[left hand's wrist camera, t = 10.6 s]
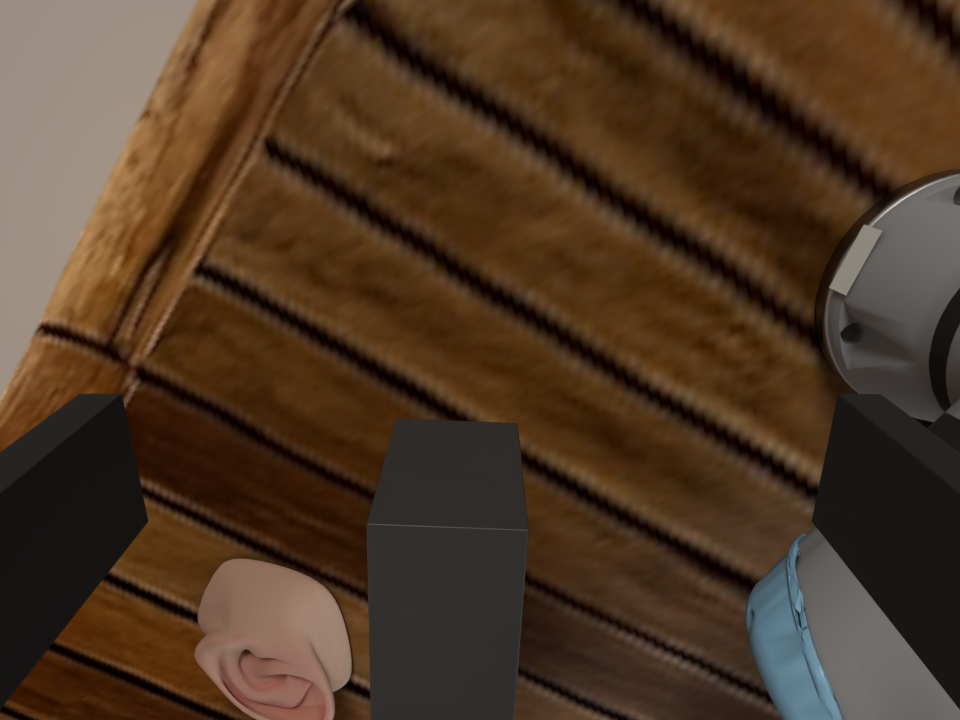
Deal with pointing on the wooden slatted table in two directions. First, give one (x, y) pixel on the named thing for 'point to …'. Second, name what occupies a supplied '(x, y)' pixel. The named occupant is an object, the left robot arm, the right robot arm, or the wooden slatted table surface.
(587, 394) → the wooden slatted table surface
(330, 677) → the anatomical model
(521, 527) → the bar
